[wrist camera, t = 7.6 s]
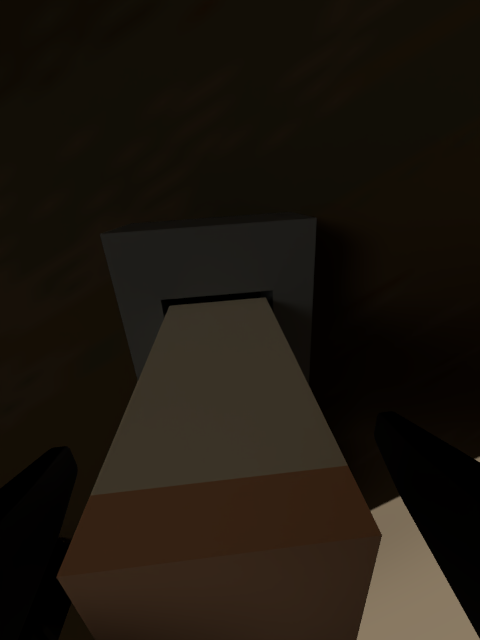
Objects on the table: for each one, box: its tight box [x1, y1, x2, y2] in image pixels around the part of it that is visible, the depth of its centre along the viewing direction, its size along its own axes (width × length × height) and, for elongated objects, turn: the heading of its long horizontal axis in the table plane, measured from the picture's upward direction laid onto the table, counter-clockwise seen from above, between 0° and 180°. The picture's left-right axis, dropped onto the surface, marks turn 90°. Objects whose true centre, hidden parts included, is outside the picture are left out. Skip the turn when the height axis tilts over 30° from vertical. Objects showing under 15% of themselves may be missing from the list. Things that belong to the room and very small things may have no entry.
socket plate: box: [100, 212, 317, 385], centre depth 17 cm, size 8×22×4 cm, turn 4°
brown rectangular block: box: [56, 297, 382, 640], centre depth 9 cm, size 4×5×9 cm
